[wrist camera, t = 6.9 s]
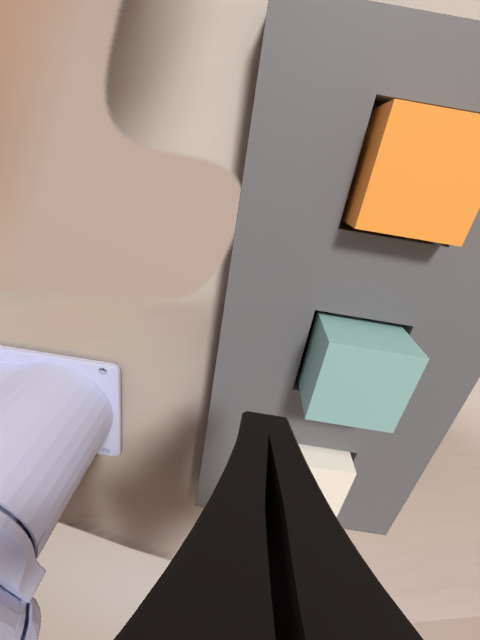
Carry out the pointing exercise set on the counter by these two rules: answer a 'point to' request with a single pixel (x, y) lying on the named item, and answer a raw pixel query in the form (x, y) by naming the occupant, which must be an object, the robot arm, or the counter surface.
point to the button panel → (343, 241)
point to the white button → (331, 473)
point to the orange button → (417, 173)
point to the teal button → (359, 372)
